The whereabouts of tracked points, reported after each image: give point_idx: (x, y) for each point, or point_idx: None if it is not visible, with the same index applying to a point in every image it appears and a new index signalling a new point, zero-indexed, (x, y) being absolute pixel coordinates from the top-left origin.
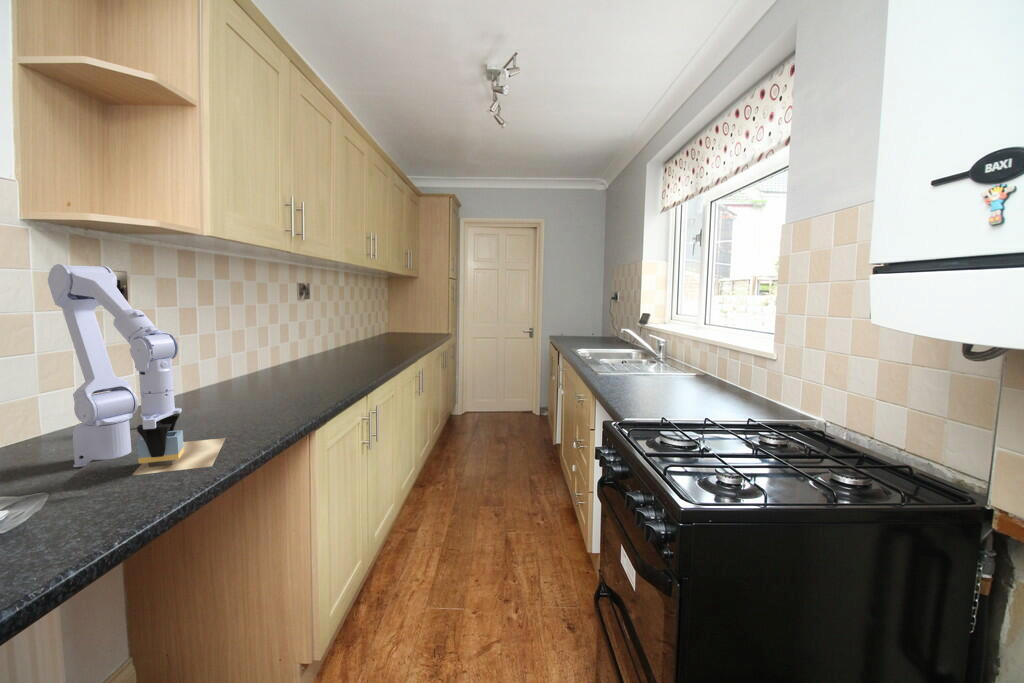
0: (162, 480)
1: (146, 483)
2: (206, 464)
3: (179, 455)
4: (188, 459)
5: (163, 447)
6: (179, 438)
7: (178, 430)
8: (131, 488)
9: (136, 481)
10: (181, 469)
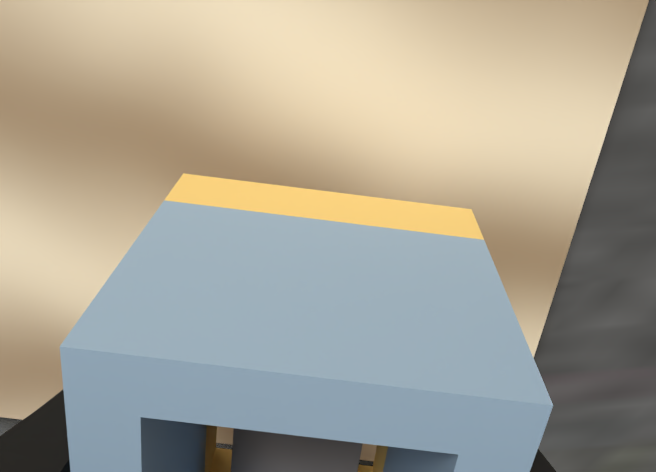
0: (613, 266)
1: (606, 359)
2: None
3: (419, 215)
4: (276, 102)
5: (542, 455)
6: (379, 332)
7: (67, 406)
8: (649, 428)
9: None
10: (593, 149)
